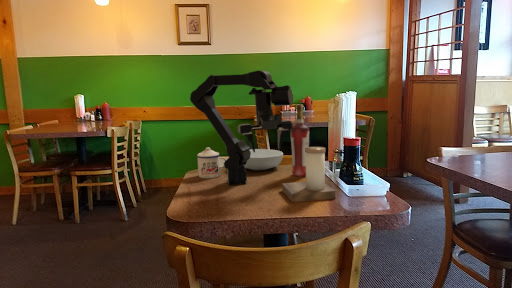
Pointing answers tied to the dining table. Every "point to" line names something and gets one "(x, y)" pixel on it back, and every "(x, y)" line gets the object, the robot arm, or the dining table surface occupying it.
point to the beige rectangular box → (306, 192)
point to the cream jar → (315, 168)
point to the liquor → (299, 144)
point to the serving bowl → (263, 159)
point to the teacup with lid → (209, 164)
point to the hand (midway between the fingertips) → (266, 150)
